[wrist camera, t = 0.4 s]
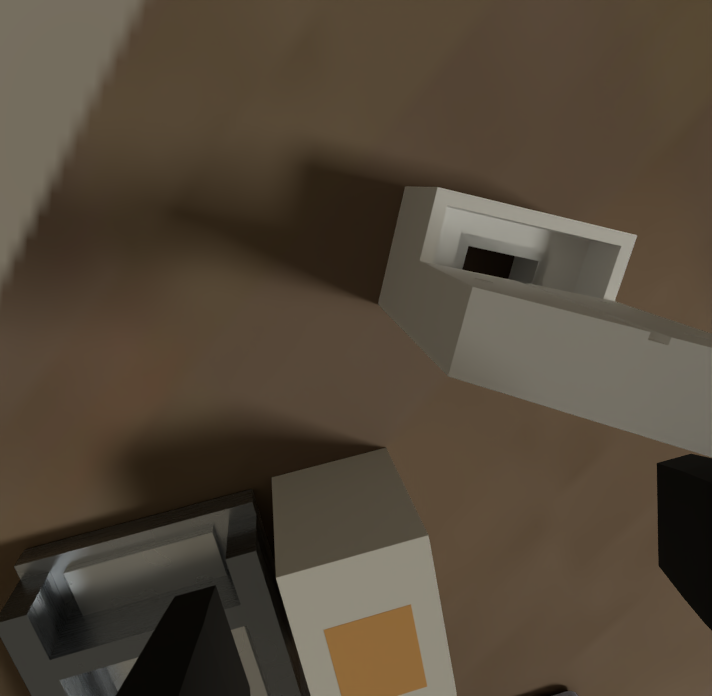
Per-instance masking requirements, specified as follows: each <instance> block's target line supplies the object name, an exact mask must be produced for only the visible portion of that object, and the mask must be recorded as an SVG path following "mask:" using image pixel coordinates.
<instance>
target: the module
mask: <svg viewBox="0 0 712 696" xmlns="http://www.w3.org/2000/svg"><path fill="white" fill-rule="evenodd" d="M272 499H273V523H274V546H275V569H276V580H277V583H278V587H279V590H280V594H281V597H282V600H283V604H284V607H285V610H286V614H287V617H288V621H289V624H290V627H291V631H292V634H293V637H294V641H295V644H296V648H297V651H298V654H299V658H300V661H301V665H302V668H303V671H304V675H305V678H306V681H307V685H308V688H309V692H310V695H311V696H457V693H456V688H455V682H454V676H453V671H452V665H451V660H450V654H449V648H448V643H447V637H446V631H445V626H444V620H443V614H442V609H441V603H440V598H439V592H438V586H437V581H436V575H435V569H434V564H433V558H432V552H431V547H430V541H429V536H428V533H427V531H426V529H425V527H424V525H423V523H422V521H421V519H420V517H419V515H418V513H417V510H416V508H415V506H414V504H413V502H412V500H411V498H410V496H409V494H408V492H407V490H406V488H405V486H404V484H403V481H402V479H401V477H400V475H399V473H398V471H397V469H396V467H395V465H394V463H393V461H392V459H391V457H390V455H389V452H388V450H387V448H383V449H379V450H375V451H371V452H367V453H363V454H360V455H356V456H352V457H348V458H344V459H340V460H337V461H333V462H329V463H325V464H321V465H317V466H314V467H310V468H306V469H302V470H298V471H294V472H291V473H287V474H283V475H279V476H275V477H272Z"/></svg>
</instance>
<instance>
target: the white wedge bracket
mask: <svg viewBox="0 0 712 696" xmlns="http://www.w3.org/2000/svg"><path fill="white" fill-rule="evenodd" d="M636 238H637V235H634V234H630V233H626V232H621V231H617V230H613V229H609V228H605V227H601V226H597V225H592V224H588V223H584V222H580V221H576V220H572V219H568V218H564V217H559V216H555V215H551V214H547V213H543V212H539V211H535V210H530V209H526V208H522V207H518V206H514V205H510V204H506V203H501V202H497V201H493V200H489V199H485V198H481V197H477V196H473V195H468V194H464V193H460V192H456V191H452V190H448V189H444V188H439V187H413V186H405V189H404V193H403V198H402V202H401V206H400V211H399V215H398V219H397V224H396V228H395V232H394V237H393V241H392V245H391V250H390V254H389V258H388V263H387V267H386V271H385V276H384V280H383V284H382V289H381V293H380V297H379V301H378V305H379V306H380V307H381V308H382V309H383V310H384V311H385V312H386V313H387V314H388V315H389V316H390V317H391V318H392V319H393V320H394V321H395V322H396V323H397V324H398V326H399V327H400V328H401V329H402V330H403V331H404V332H405V333H406V334H407V335H408V336H409V337H410V338H411V339H412V340H413V341H414V342H415V343H416V344H417V345H418V346H419V347H420V348H421V349H422V350H423V351H424V352H425V353H426V354H427V355H428V356H429V357H430V358H431V359H432V360H433V361H434V362H435V363H436V364H437V365H438V367H439V368H440V369H441V370H442V371H443V372H444V373H445V374H446V375H447V376H449V377H452V378H455V379H459V380H462V381H465V382H468V383H472V384H475V385H478V386H481V387H485V388H488V389H491V390H494V391H498V392H501V393H504V394H507V395H511V396H514V397H517V398H521V399H524V400H527V401H530V402H534V403H537V404H540V405H543V406H547V407H550V408H553V409H556V410H560V411H563V412H566V413H569V414H573V415H576V416H579V417H582V418H586V419H589V420H592V421H595V422H599V423H602V424H605V425H609V426H612V427H615V428H618V429H622V430H625V431H628V432H631V433H635V434H638V435H641V436H644V437H648V438H651V439H654V440H657V441H661V442H664V443H667V444H670V445H674V446H677V447H680V448H683V449H687V450H690V451H693V452H697V453H700V454H703V455H706V456H710V457H712V334H711V333H708V332H705V331H702V330H699V329H696V328H693V327H690V326H687V325H684V324H681V323H678V322H675V321H672V320H669V319H666V318H663V317H660V316H657V315H654V314H651V313H648V312H645V311H642V310H639V309H636V308H633V307H630V306H627V305H624V304H621V303H618V302H615V298H616V296H617V293H618V290H619V287H620V284H621V281H622V278H623V275H624V272H625V270H626V267H627V264H628V261H629V258H630V255H631V252H632V249H633V246H634V243H635V241H636ZM468 246H471V247H476V248H481V249H485V250H490V251H494V252H499V253H503V254H508V255H513V256H515V258H514V261H513V264H512V268H511V271H510V275H509V278H508V279H505V278H500V277H495V276H490V275H486V274H481V273H476V272H471V271H466V270H462V268H463V265H464V261H465V257H466V254H467V250H468Z"/></svg>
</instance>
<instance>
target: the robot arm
mask: <svg viewBox="0 0 712 696" xmlns="http://www.w3.org/2000/svg"><path fill="white" fill-rule="evenodd" d="M657 497H658V556H659V567H660V568H661V569H662V571H663V572H664V573H665V574H666V576H667V577H668V578H669V580H670V581H671V582H672V583H673V585H674V586H675V587H676V589H677V590H678V591H679V593H680V594H681V595H682V596H683V598H684V599H685V600H686V601H687V602H688V604H689V605H690V606H691V607H692V608H693V610H694V611H695V612H696V613H697V614H698V616H699V617H700V618H701V619H702V621H703V622H704V623H705V624H706V625H707V626H708V627H709V628H710V629H711V630H712V458H708V457H703V456H699V455H694V454H689V455H685V456H681V457H678V458H674V459H670V460H667V461H663V462H660V463H657ZM115 696H251V695H250V686H249V683H248V680H247V677H246V674H245V671H244V668H243V665H242V662H241V659H240V656H239V653H238V650H237V647H236V644H235V641H234V638H233V635H232V632H231V629H230V626H229V623H228V620H227V617H226V614H225V611H224V608H223V605H222V602H221V599H220V596H219V593H218V590H217V587H216V585H214V586H211V587H207V588H203V589H200V590H196V591H192V592H189V593H185V594H182V595H178V596H175V597H174V598H173V600H172V601H171V603H170V604H169V606H168V608H167V609H166V611H165V613H164V614H163V616H162V618H161V619H160V621H159V623H158V624H157V626H156V628H155V630H154V631H153V633H152V635H151V636H150V638H149V640H148V642H147V643H146V645H145V647H144V648H143V650H142V652H141V653H140V655H139V657H138V659H137V660H136V662H135V664H134V665H133V667H132V669H131V670H130V672H129V674H128V675H127V677H126V679H125V680H124V682H123V684H122V685H121V687H120V689H119V690H118V692H117V694H116V695H115ZM553 696H578V695H577V694H576V693H575V692H573V691H565V692H562V693H559V694H556V695H553Z"/></svg>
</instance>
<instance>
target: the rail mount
mask: <svg viewBox="0 0 712 696" xmlns="http://www.w3.org/2000/svg"><path fill="white" fill-rule="evenodd" d="M14 567H15V570H16V572H17V574H18V576H19V578H20V581H19V583H18V584H17V586H16V588H15V589H14V591H13V593H12V594H11V596H10V598H9V599H8V601H7V603H6V604H5V606H4V608H3V609H2V611H1V613H0V637H1V639H2V641H3V643H4V645H5V647H6V649H7V651H8V652H9V654H10V656H11V658H12V660H13V662H14V664H15V666H16V668H17V669H18V671H19V673H20V675H21V677H22V679H23V681H24V683H25V684H26V686H27V688H28V690H29V692H30V694H31V696H115V695H116V694H117V692H118V690H119V689H120V687H121V685H122V684H123V682H124V680H125V679H126V677H127V675H128V674H129V672H130V670H131V669H132V667H133V665H134V664H135V662H136V660H137V659H138V657H139V655H140V653H141V652H142V650H143V648H144V647H145V645H146V643H147V642H148V640H149V638H150V636H151V635H152V633H153V631H154V630H155V628H156V626H157V624H158V623H159V621H160V619H161V618H162V616H163V614H164V613H165V611H166V609H167V608H168V606H169V604H170V603H171V601H172V600H173V598H174V597H175V596H178V595H182V594H185V593H189V592H192V591H196V590H200V589H203V588H207V587H211V586H214V585H216V587H217V590H218V593H219V596H220V599H221V602H222V605H223V608H224V611H225V614H226V617H227V620H228V623H229V626H230V629H231V632H232V635H233V638H234V641H235V644H236V647H237V650H238V653H239V656H240V659H241V662H242V665H243V668H244V671H245V674H246V677H247V680H248V683H249V686H250V695H251V696H311V695H310V692H309V688H308V685H307V681H306V678H305V675H304V671H303V668H302V665H301V661H300V658H299V654H298V651H297V648H296V644H295V641H294V637H293V634H292V631H291V627H290V624H289V621H288V617H287V614H286V610H285V607H284V604H283V600H282V597H281V594H280V590H279V587H278V583H277V580H276V569H275V562H274V559H273V556H272V552H271V549H270V546H269V542H268V539H267V536H266V532H265V529H264V526H263V522H262V519H261V516H260V512H259V509H258V506H257V502H256V499H255V496H254V492H253V489H250V490H246V491H243V492H239V493H235V494H231V495H228V496H224V497H220V498H216V499H213V500H209V501H205V502H201V503H198V504H194V505H190V506H187V507H183V508H179V509H175V510H172V511H168V512H164V513H160V514H157V515H153V516H149V517H145V518H142V519H138V520H134V521H130V522H127V523H123V524H119V525H115V526H112V527H108V528H104V529H100V530H97V531H93V532H89V533H85V534H82V535H78V536H74V537H70V538H67V539H63V540H59V541H56V542H52V543H48V544H44V545H41V546H37V547H33V548H29V549H26V550H24V552H23V553H22V555H21V556H20V558H19V559H18V561H17V563H16V564H15V566H14Z"/></svg>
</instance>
